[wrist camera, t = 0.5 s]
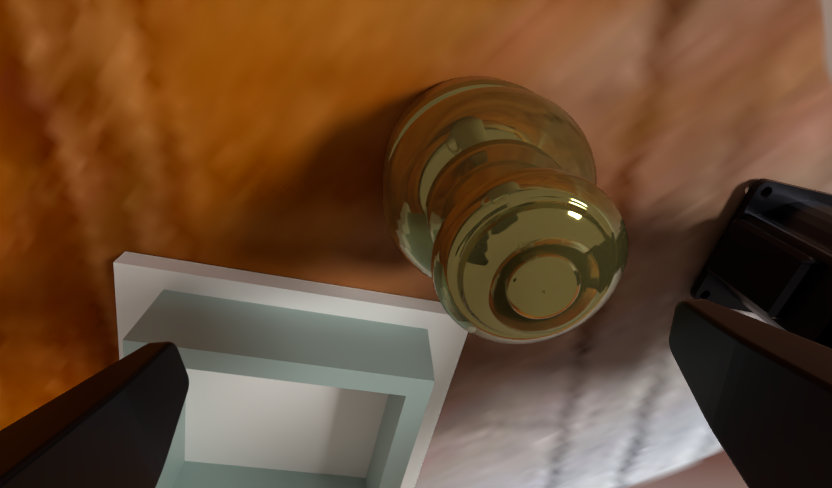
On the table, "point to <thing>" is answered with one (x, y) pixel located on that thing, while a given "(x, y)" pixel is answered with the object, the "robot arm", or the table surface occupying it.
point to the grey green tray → (290, 375)
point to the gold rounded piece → (502, 210)
